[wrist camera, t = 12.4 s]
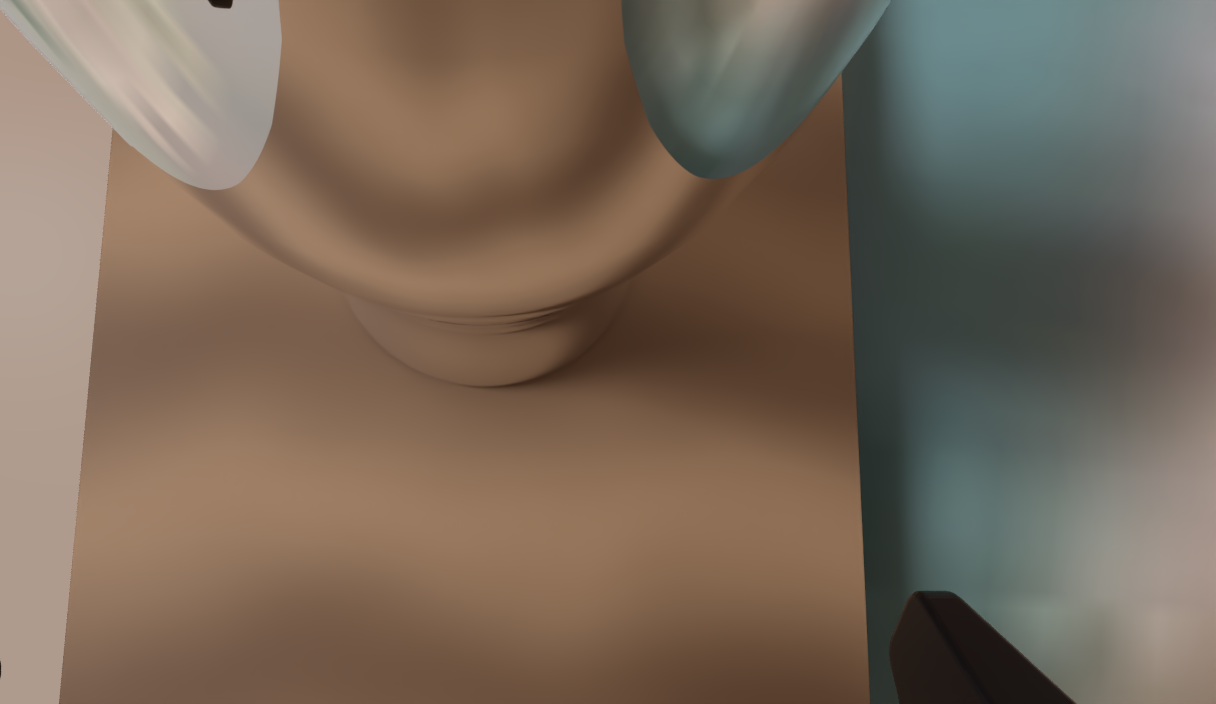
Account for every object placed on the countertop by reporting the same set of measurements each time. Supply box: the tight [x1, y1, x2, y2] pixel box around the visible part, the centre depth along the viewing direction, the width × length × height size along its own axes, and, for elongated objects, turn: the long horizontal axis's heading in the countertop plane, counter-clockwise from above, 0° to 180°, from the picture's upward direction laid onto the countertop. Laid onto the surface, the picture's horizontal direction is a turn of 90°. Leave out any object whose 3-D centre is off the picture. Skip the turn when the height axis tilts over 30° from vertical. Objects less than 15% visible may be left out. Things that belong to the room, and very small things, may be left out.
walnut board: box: [59, 73, 870, 704], centre depth 18 cm, size 24×15×2 cm, turn 0°
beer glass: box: [0, 0, 892, 387], centre depth 10 cm, size 7×7×15 cm
